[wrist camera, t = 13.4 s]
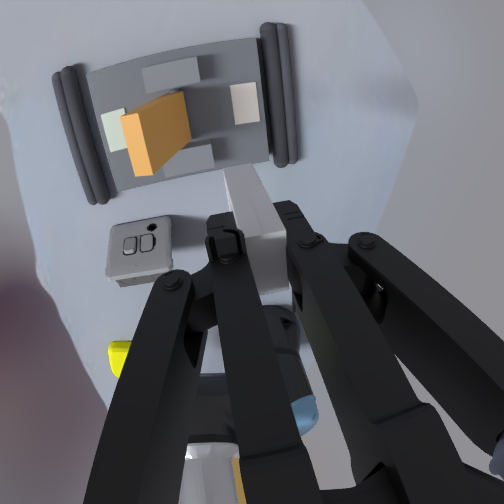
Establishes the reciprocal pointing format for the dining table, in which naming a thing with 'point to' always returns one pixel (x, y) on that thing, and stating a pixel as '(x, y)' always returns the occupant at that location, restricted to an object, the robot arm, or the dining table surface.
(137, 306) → the dining table surface
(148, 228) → the electrical switch
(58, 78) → the cable bundle
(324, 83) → the dining table surface
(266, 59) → the cable bundle
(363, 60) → the dining table surface
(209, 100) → the breaker panel
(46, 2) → the dining table surface
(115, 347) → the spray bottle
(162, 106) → the lever
